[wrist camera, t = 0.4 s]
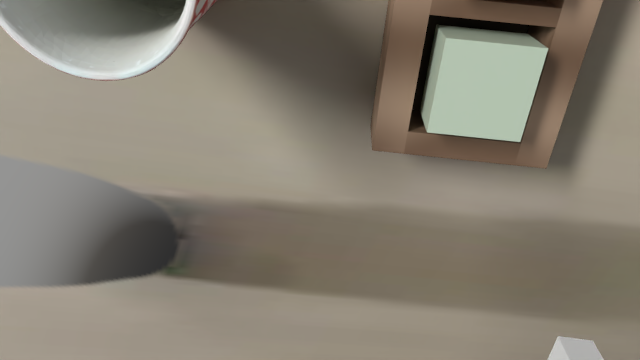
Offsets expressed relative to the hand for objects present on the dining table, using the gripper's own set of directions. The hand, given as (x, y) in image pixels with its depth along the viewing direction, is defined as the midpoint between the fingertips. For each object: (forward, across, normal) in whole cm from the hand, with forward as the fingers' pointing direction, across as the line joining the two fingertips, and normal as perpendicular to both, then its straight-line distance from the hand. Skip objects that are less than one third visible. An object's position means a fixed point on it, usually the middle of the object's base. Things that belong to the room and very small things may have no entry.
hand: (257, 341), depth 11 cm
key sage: (+23, +9, +1) cm, 24 cm away
